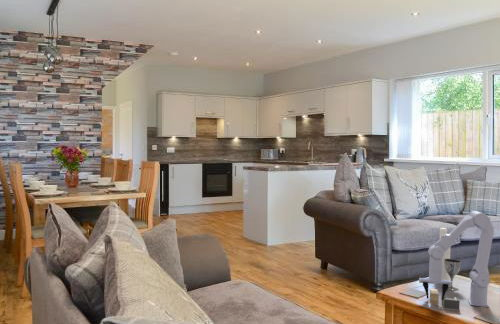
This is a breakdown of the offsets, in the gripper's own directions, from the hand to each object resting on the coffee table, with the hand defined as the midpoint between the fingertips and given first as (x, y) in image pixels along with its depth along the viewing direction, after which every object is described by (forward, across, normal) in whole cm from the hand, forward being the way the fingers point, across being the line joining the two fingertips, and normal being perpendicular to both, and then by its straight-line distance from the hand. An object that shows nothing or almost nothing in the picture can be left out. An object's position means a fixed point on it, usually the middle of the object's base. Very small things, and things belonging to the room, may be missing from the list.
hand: (434, 298), depth 226 cm
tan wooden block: (+2, 0, 0) cm, 2 cm away
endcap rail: (+1, +7, -2) cm, 7 cm away
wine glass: (+2, +10, +26) cm, 28 cm away
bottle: (+2, +6, +37) cm, 37 cm away
